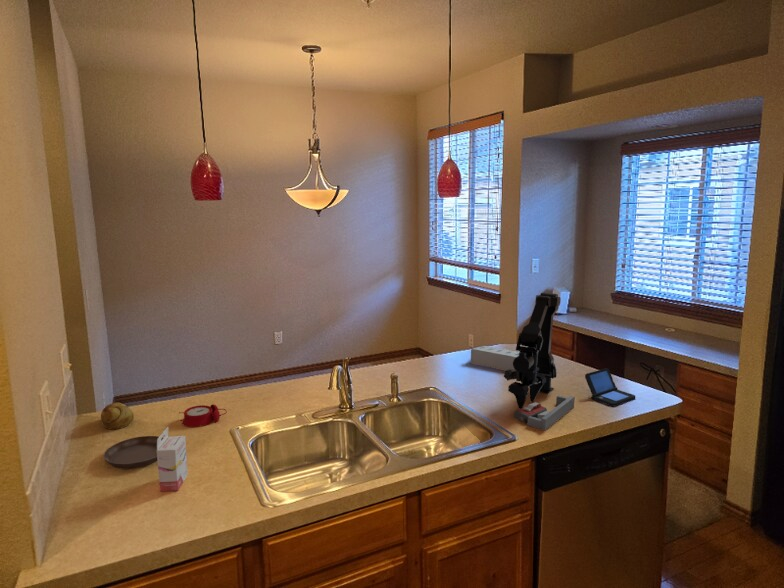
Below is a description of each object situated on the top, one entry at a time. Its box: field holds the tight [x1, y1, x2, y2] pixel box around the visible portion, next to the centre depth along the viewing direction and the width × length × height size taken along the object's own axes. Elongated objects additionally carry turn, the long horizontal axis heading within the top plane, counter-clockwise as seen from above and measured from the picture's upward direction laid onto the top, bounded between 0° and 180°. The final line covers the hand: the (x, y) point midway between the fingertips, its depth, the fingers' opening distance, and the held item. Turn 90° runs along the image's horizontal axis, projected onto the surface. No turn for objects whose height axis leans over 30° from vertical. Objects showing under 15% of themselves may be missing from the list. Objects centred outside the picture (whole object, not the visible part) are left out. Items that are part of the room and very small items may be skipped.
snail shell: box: [100, 402, 135, 430], centre depth 174 cm, size 13×10×8 cm
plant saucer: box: [103, 435, 164, 470], centre depth 152 cm, size 18×18×3 cm
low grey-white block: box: [470, 345, 520, 371], centre depth 236 cm, size 30×14×8 cm, turn 54°
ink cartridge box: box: [156, 426, 189, 492], centre depth 137 cm, size 9×5×15 cm, turn 5°
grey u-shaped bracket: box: [526, 394, 576, 432], centre depth 181 cm, size 26×6×4 cm, turn 140°
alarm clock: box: [178, 403, 228, 428], centre depth 177 cm, size 10×6×15 cm
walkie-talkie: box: [513, 401, 551, 424], centre depth 181 cm, size 9×4×20 cm
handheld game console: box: [584, 367, 636, 407], centre depth 197 cm, size 16×13×9 cm
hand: (526, 405), depth 187 cm, fingers open, 9 cm apart
